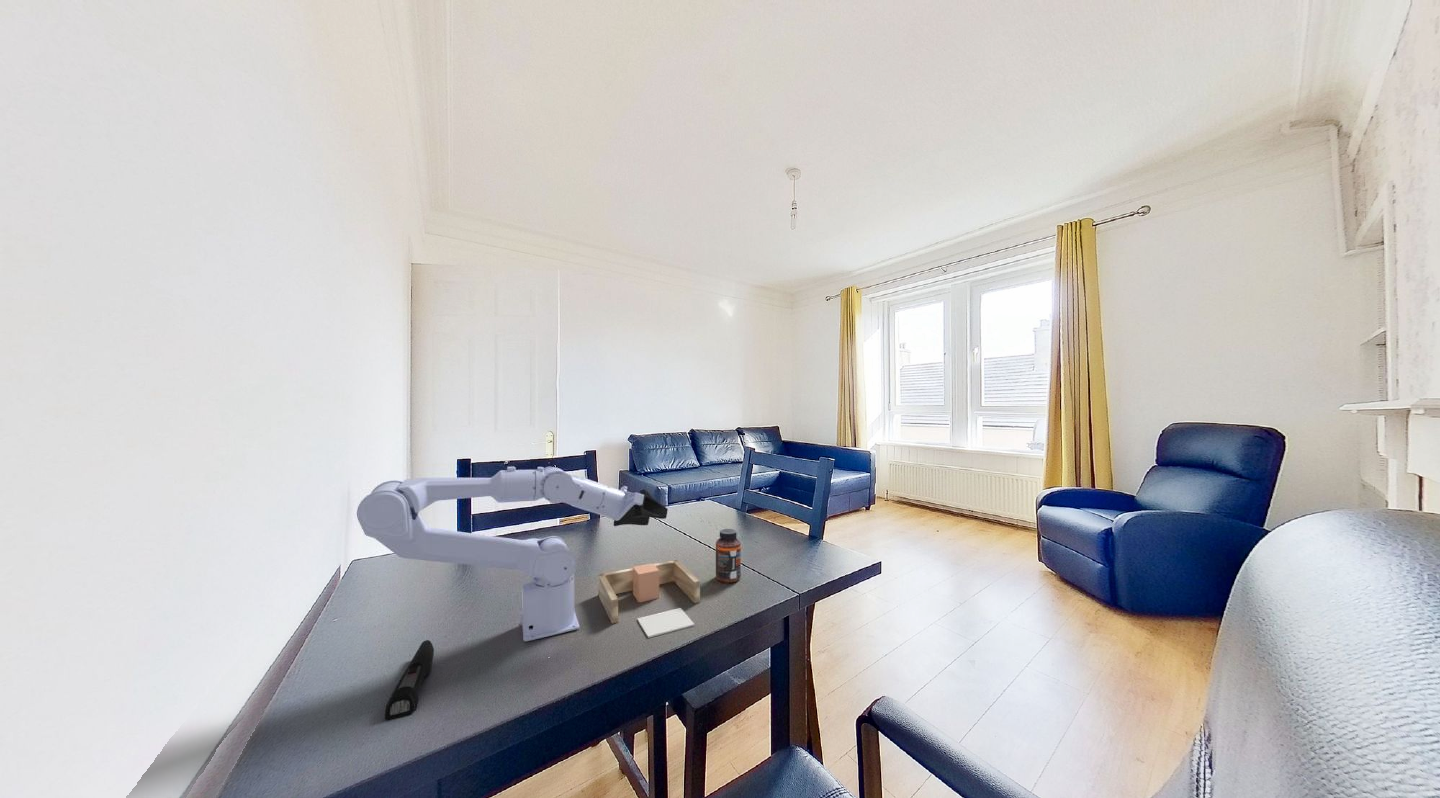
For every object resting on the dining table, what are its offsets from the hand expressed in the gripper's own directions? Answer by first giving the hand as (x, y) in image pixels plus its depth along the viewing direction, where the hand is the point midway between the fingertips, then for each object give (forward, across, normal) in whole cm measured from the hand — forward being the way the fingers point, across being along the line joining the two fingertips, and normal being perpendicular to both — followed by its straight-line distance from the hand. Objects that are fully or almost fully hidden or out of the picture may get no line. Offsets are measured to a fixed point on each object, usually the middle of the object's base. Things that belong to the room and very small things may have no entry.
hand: (657, 517), depth 92 cm
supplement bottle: (+24, +4, +8) cm, 25 cm away
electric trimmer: (-31, +8, +34) cm, 46 cm away
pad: (+5, -2, +20) cm, 20 cm away
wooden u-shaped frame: (+6, +8, +15) cm, 18 cm away
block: (+6, +9, +14) cm, 18 cm away
